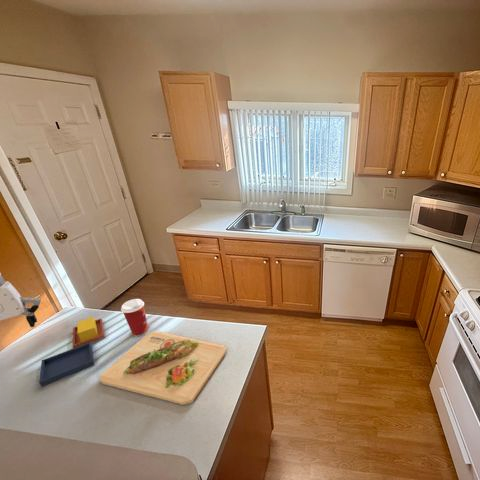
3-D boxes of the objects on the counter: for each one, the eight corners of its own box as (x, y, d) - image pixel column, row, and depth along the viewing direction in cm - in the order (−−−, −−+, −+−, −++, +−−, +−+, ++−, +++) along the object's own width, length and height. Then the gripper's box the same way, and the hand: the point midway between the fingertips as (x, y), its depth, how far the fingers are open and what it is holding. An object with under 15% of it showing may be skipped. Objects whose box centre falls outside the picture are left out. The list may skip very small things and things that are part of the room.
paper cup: (154, 329, 108) (147, 302, 102) (134, 340, 102) (125, 312, 96) (145, 321, 112) (137, 295, 106) (125, 332, 106) (116, 305, 100)
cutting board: (229, 349, 100) (227, 335, 97) (189, 407, 79) (186, 391, 76) (152, 333, 106) (148, 319, 103) (96, 383, 85) (89, 367, 82)
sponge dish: (105, 337, 102) (103, 334, 102) (74, 349, 97) (72, 345, 96) (102, 321, 111) (101, 318, 110) (74, 330, 105) (72, 327, 104)
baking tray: (41, 387, 83) (38, 382, 82) (44, 364, 90) (41, 360, 89) (94, 365, 91) (92, 361, 90) (92, 346, 98) (90, 342, 97)
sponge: (97, 336, 102) (94, 327, 100) (81, 342, 99) (77, 333, 97) (96, 325, 108) (93, 316, 106) (80, 330, 105) (77, 321, 103)
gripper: (-76, 303, 62) (-40, 353, 69) (27, 280, 73) (49, 326, 80) (-65, 289, 68) (-32, 337, 74) (30, 269, 78) (50, 313, 85)
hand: (10, 331), depth 77 cm, fingers open, 9 cm apart
